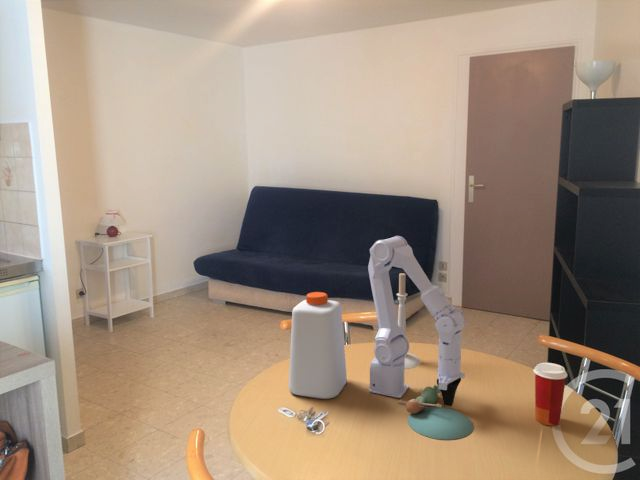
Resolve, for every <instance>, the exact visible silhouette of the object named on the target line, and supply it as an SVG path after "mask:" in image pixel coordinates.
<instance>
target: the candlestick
mask: <svg viewBox="0 0 640 480" xmlns="http://www.w3.org/2000/svg"><path fill="white" fill-rule="evenodd" d="M406 275H407V273H403V272H401V273H399V274H398V292H397V293H396V295H395V296H397V300H398V303H399V304H398V312H397V313H398V315H397V316H398V317H397V322H398V326H399V327H400V328H402V329H403V330H404V335H405V337H406V338H407V325H406V324H407V323H406V304H405V302H406V301H407V296H408V293H406ZM421 362H422V360H421V359H420V358H419V357H418V356H417V355H415V354H413V353H409V352H407V353H406V354H405V370H407V369H415V368H417V367H419V366H420V365H421V364H420V363H421Z"/></svg>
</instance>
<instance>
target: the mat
mask: <svg viewBox="0 0 640 480" xmlns="http://www.w3.org/2000/svg"><path fill="white" fill-rule="evenodd" d="M407 423H408V425H409V427H410V428H411V429H412V430H413V431H414V432H416V434H419V435H422V436H424V437H425V438H430V439H435V440H439V441H440V440H441V441H443V440H444V441H452V440H460V439H463V438H465V437H467V436H469V435H470V434H471V433H472V432H473V429H474V424H473V421H472V420H471V418H469V416H467V415H466V414H464V413H462V412H460V411H458V410H455V409H451V408H448V407H436V406H426V407H425V408H424V409H423V410H421V411H420V412H418V413H416V414H412V413H410V414H409V416H408V418H407Z"/></svg>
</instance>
